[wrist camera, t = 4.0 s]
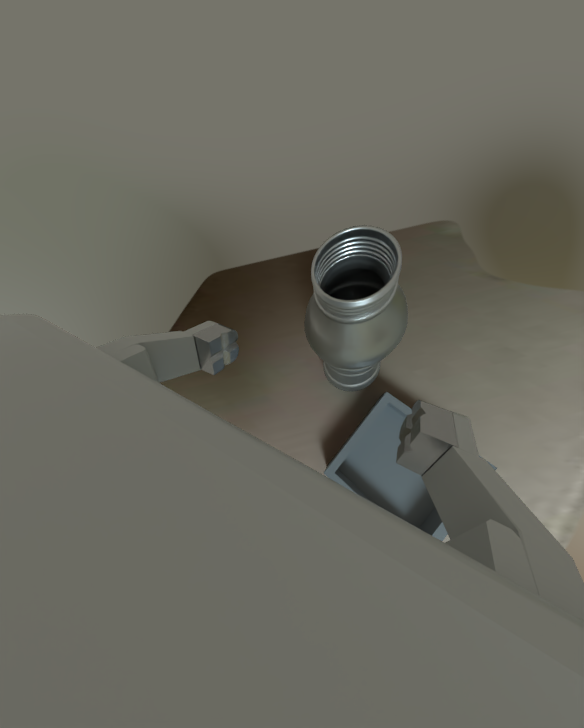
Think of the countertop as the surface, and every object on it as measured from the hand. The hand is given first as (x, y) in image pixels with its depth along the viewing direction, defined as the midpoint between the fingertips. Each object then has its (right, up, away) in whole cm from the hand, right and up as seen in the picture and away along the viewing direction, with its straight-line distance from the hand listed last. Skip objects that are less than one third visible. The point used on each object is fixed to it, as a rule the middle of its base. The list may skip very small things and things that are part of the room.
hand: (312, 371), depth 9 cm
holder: (+11, -11, +14) cm, 21 cm away
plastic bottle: (+7, 0, +18) cm, 20 cm away
